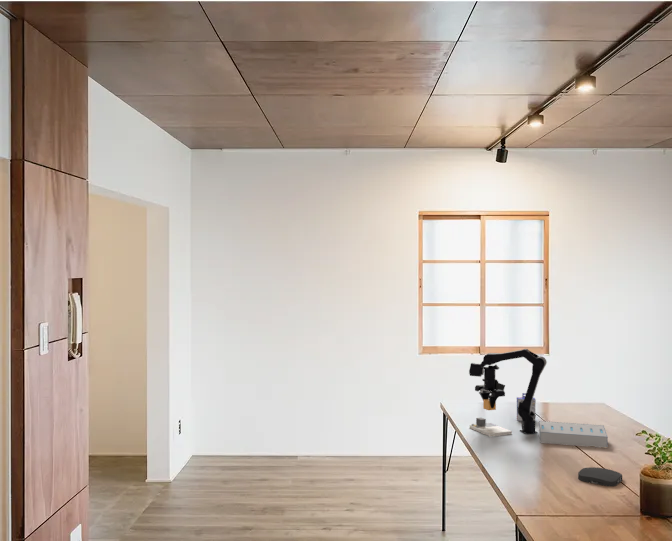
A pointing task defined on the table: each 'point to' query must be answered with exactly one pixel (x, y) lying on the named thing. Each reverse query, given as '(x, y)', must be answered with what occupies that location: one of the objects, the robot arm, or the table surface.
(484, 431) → the board
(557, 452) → the table surface
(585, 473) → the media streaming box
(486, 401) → the cap
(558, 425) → the warehouse
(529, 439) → the table surface
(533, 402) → the ink cartridge box
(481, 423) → the block
